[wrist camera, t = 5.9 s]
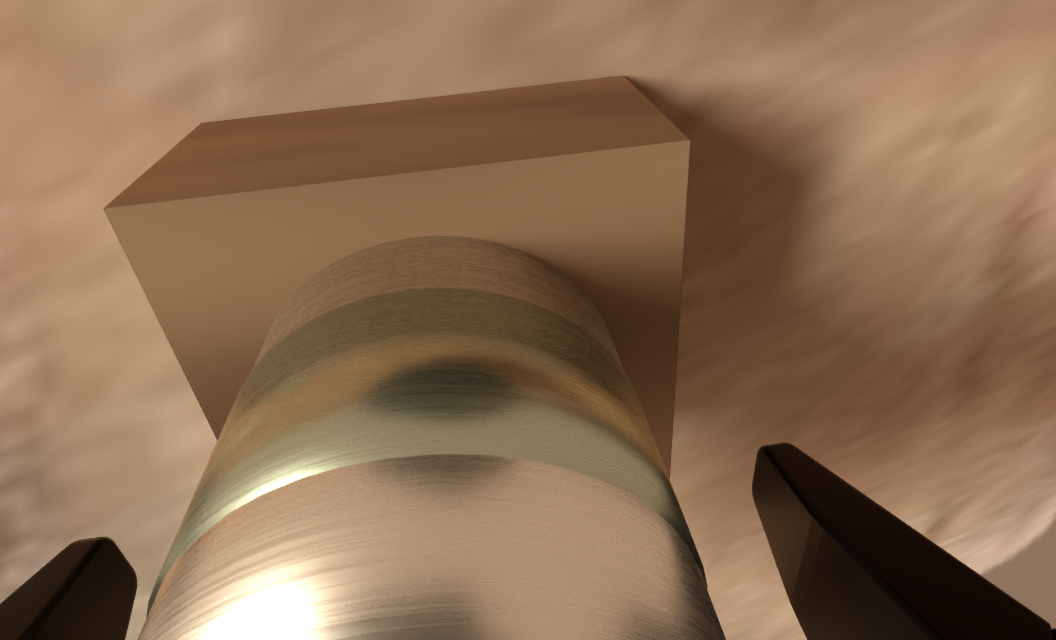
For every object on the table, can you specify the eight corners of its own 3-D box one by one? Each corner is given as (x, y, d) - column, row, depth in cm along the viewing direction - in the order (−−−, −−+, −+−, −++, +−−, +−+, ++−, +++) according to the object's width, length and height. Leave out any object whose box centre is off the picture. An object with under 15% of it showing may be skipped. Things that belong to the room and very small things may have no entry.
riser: (623, 394, 16) (667, 517, 13) (316, 435, 16) (282, 572, 13) (623, 75, 12) (690, 139, 9) (201, 123, 12) (103, 208, 8)
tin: (620, 492, 13) (733, 875, 8) (313, 534, 12) (221, 961, 7) (620, 209, 9) (822, 564, 4) (197, 259, 9) (-118, 702, 4)
